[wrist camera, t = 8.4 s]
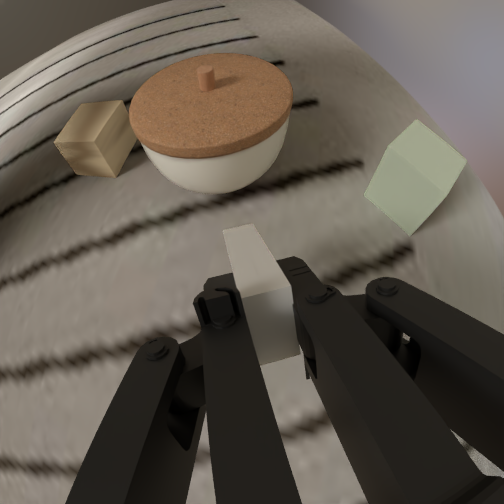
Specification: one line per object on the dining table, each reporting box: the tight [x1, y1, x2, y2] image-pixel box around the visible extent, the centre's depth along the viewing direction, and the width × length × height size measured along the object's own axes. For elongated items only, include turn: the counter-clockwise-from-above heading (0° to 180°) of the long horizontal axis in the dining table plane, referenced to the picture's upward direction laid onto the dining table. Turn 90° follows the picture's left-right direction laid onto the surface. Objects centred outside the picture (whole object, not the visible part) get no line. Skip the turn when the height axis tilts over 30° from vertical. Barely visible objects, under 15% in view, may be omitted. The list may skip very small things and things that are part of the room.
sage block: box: [364, 119, 467, 236], centre depth 19 cm, size 5×5×6 cm
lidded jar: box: [129, 53, 293, 194], centre depth 19 cm, size 11×11×9 cm
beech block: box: [53, 100, 138, 178], centre depth 22 cm, size 5×5×5 cm
